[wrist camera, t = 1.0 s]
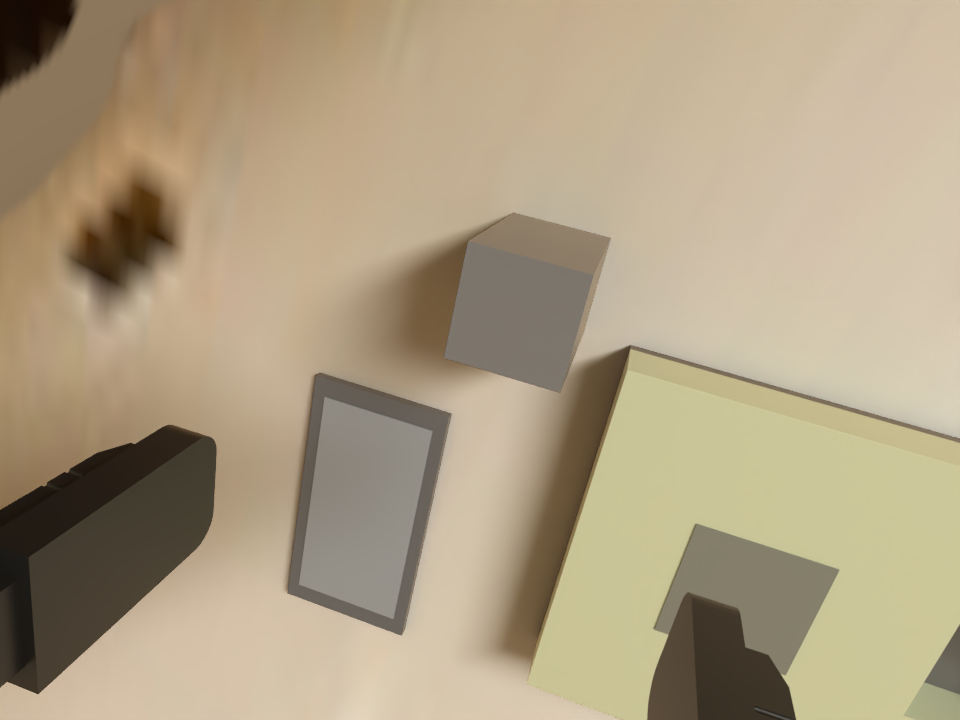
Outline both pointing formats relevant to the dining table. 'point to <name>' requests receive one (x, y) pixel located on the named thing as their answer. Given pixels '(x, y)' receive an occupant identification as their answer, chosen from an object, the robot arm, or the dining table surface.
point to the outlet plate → (761, 547)
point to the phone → (365, 501)
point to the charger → (525, 299)
